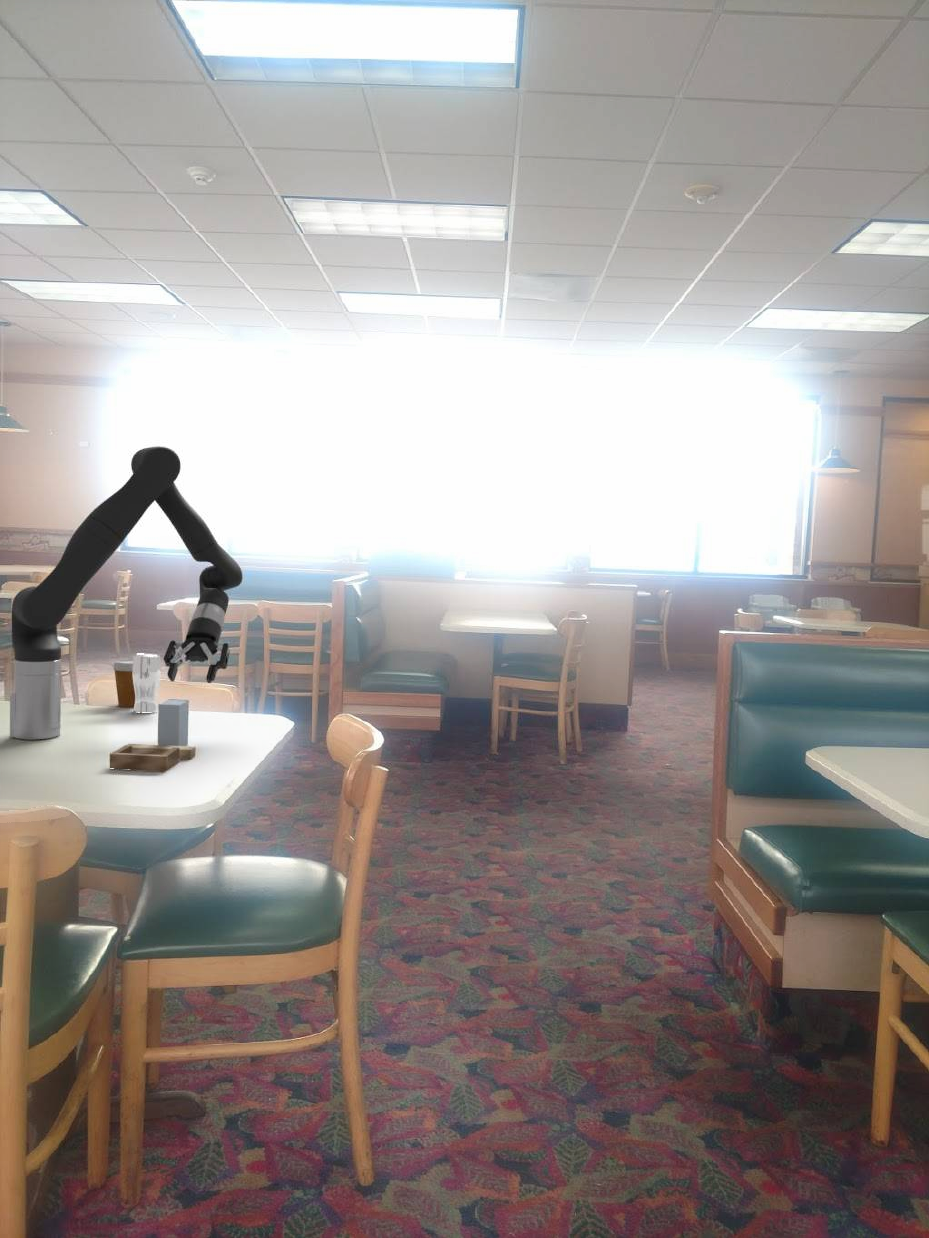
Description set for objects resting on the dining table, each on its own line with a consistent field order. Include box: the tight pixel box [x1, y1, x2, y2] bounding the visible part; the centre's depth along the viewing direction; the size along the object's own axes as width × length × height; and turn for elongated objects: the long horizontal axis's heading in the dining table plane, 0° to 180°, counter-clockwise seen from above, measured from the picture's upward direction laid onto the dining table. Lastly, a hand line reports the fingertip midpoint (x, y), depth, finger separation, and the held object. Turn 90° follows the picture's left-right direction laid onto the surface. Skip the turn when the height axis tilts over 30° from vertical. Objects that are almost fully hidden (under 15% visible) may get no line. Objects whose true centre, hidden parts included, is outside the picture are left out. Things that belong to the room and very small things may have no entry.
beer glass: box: [132, 653, 162, 713], centre depth 216 cm, size 7×7×15 cm
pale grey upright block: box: [157, 698, 190, 746], centre depth 180 cm, size 4×6×10 cm
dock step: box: [126, 743, 196, 760], centre depth 172 cm, size 14×3×2 cm, turn 90°
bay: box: [109, 744, 180, 772], centre depth 164 cm, size 11×8×3 cm
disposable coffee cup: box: [112, 658, 135, 708], centre depth 225 cm, size 10×10×12 cm
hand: (190, 680), depth 190 cm, fingers open, 8 cm apart
